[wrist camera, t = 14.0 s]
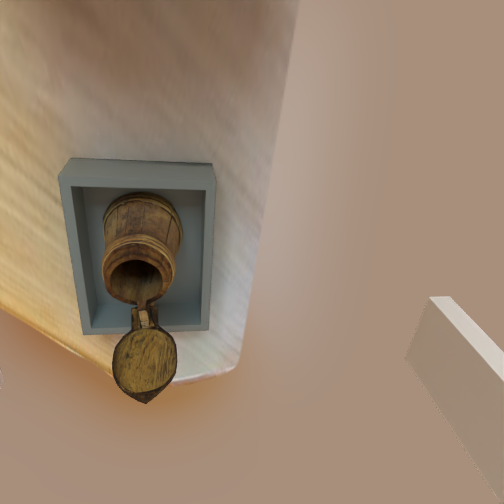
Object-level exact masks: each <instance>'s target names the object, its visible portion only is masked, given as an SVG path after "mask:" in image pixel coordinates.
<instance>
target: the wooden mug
mask: <svg viewBox="0 0 504 504" xmlns="http://www.w3.org/2000/svg"><path fill="white" fill-rule="evenodd" d="M103 236H104V240H105V252H104V255H103V258H102V276H103V280H104V282H105V287H106V290H107V292H108V293H109V294H110V295H111V296H112V297H113V298H115V299H117V300H119V301H121V302H123V303H127V304H131V305H138V306H137V307H134V308H132V309H131V330H130V331H129V332H128V333H127V334H126V335H124V336H123V337H122V339H121V340H120V341H119V343H118V344H117V345H116V347H115V350H114V354H113V361H112V370H113V376H114V379H115V381H116V383H117V385H118V386H119V388H120V389H121V390H122V391H123V392H124V393H126V394H127V395H129V396H130V397H132V398H134V399H135V400H137V401H139V402H142V403H145V404H147V403H148V402H149V401H151V400H152V399H153V398H154V397H156V396H157V395H158V394H159V393H160V392H161V391H162V390H163V389H164V388H165V387H166V386H167V385H168V384H169V383H170V382H171V381H172V379H173V377H174V375H175V373H176V368H177V349H176V344H175V341H174V339H173V337H172V336H171V335H170V334H169V333H168V332H167V331H165V330H164V329H163V328H161V327H160V326H159V322H158V306H154V301H156V300H158V299H159V298H161V297H162V296H163V295H164V294H165V293H166V291H167V289H168V288H169V287H170V285H171V283H172V281H173V279H174V276H175V273H176V264H175V256H176V254H177V252H178V251H179V248H180V245H181V242H182V237H183V230H182V225H181V221H180V218H179V216H178V214H177V212H176V210H175V208H174V207H173V205H172V204H171V203H170V202H169V201H167V200H166V199H165V198H163V197H162V196H159V195H156V194H153V193H148V192H132V193H128V194H125V195H122V196H120V197H119V198H117V199H116V200H114V201H113V202H112V203H111V204H110V205H109V206H108V208H107V209H106V211H105V214H104V216H103Z"/></svg>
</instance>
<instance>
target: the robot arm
mask: <svg viewBox="0 0 504 504" xmlns="http://www.w3.org/2000/svg"><path fill="white" fill-rule="evenodd" d="M405 360H406V361H407V363H408V364H409V366H410V367H411V369H412V370H413V372H414V374H415V375H416V377H417V378H418V379H419V381H420V382H421V384H422V386H423V387H424V389H425V390H426V392H427V393H428V395H429V396H430V398H431V399H432V401H433V402H434V404H435V405H436V407H437V408H438V410H439V411H440V413H441V414H442V416H443V418H444V419H445V420H446V422H447V423H448V425H449V427H450V428H451V430H452V431H453V433H454V434H455V436H456V437H457V439H458V440H459V442H460V443H461V445H462V446H463V447H464V449H465V451H466V452H467V454H468V455H469V457H470V458H471V460H472V462H473V463H474V465H475V466H476V468H477V469H478V471H479V472H480V474H481V475H482V477H483V478H484V479H485V481H486V483H487V484H488V486H489V487H490V489H491V490H492V492H493V493H494V495H495V496H496V498H497V499H498V501H499V502H500V504H504V352H502V350H500V348H499V347H498V346H497V345H496V344H495V343H494V342H493V341H492V340H491V339H490V338H489V337H488V336H487V335H486V334H485V333H484V332H483V331H482V329H481V328H480V327H479V326H478V325H477V324H476V323H475V322H474V321H473V320H472V319H471V318H470V317H469V316H468V315H467V314H466V313H465V312H464V311H463V310H462V309H461V308H460V307H459V306H458V305H457V303H456V302H455V301H453V299H451V297H449V296H448V297H429V298H428V300H427V303H426V305H425V308H424V311H423V313H422V315H421V318H420V321H419V323H418V326H417V328H416V331H415V333H414V336H413V338H412V341H411V343H410V346H409V348H408V351H407V353H406V356H405ZM3 383H4V378H3V375H2V372H1V368H0V389H1V387H2V385H3Z"/></svg>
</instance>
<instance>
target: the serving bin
mask: <svg viewBox="0 0 504 504" xmlns="http://www.w3.org/2000/svg"><path fill="white" fill-rule="evenodd" d="M58 180H59V186H60V193H61V199H62V205H63V212H64V218H65V224H66V230H67V237H68V243H69V249H70V256H71V262H72V268H73V274H74V281H75V287H76V293H77V300H78V306H79V312H80V318H81V325H82V331H83V335H101V334H127V333H128V332H129V331H130V330H131V309H132V308H134V307H137V306H138V305H131V304H127V303H123V302H121V301H119V300H117V299H115V298H113V297H112V296H111V295H110V294H109V293H108V292H107V290H106V287H105V282H104V280H103V276H102V258H103V255H104V252H105V240H104V236H103V216H104V214H105V211H106V209H107V208H108V206H109V205H110V204H111V203H112V202H113V201H114V200H116V199H117V198H119V197H120V196H122V195H125V194H128V193H132V192H148V193H153V194H156V195H159V196H162V197H163V198H165V199H166V200H167V201H169V202H170V203H171V204H172V205H173V207H174V208H175V210H176V212H177V214H178V216H179V218H180V221H181V225H182V230H183V237H182V242H181V245H180V248H179V251H178V252H177V254H176V256H175V264H176V273H175V276H174V279H173V281H172V283H171V285H170V287H169V288H168V289H167V291H166V293H165V294H164V295H163V296H162V297H161V298H159V299H158V300H156V301H154V306H158V322H159V326H160V327H161V328H163V329H164V330H165V331H167V332H179V331H205V330H209V310H210V291H211V272H212V252H213V233H214V214H215V195H216V178H215V174H214V170H213V165H212V164H210V163H185V162H161V161H136V160H111V159H86V158H70V160H69V161H68V163H67V164H66V165H65V167H64V168H63V169H62V171H61V172H60V174H59V175H58Z"/></svg>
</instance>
